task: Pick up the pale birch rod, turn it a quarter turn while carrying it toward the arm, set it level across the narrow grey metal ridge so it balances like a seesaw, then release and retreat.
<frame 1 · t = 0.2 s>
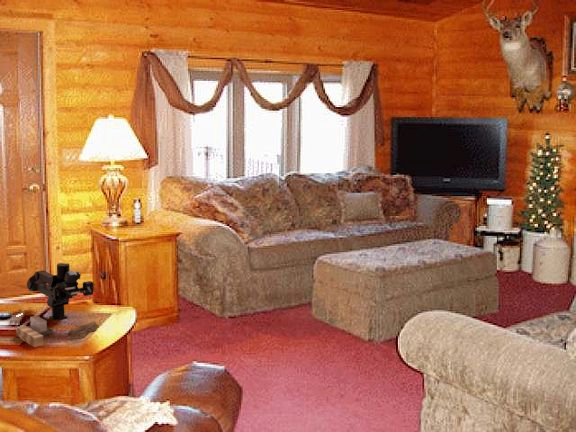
hand: (81, 295, 321), 17 cm above the table, tool horizontal, fingers open, 9 cm apart
wooden fragment: (83, 331, 324), on the table
birch rod: (30, 341, 310), on the table
balance ridge: (38, 331, 321), on the table
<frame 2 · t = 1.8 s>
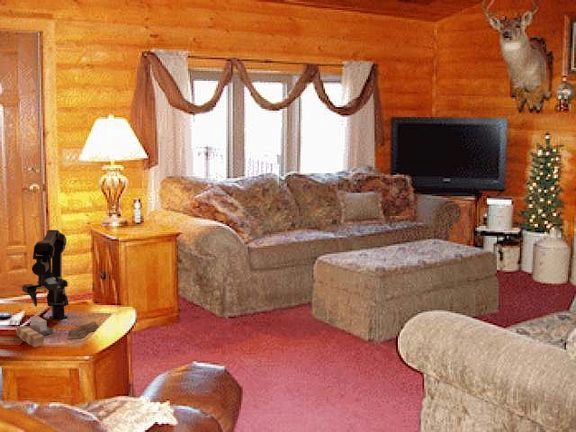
hand: (46, 304, 318), 13 cm above the table, tool pointing down, fingers open, 9 cm apart
nothing on the table moved.
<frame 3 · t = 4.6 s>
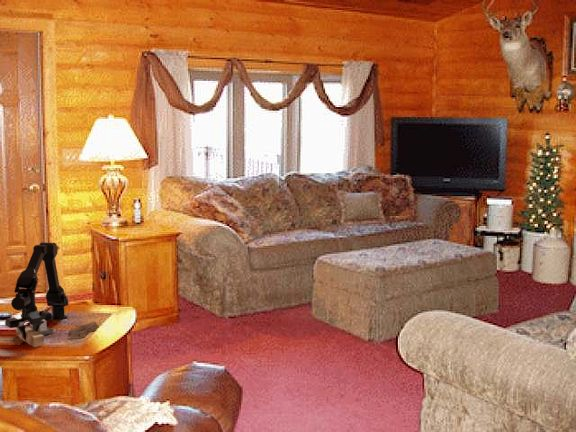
hand: (29, 338, 309), 1 cm above the table, tool pointing down, fingers closed on birch rod, 4 cm apart
birch rod: (30, 341, 310), on the table, touching gripper
everything else where it was.
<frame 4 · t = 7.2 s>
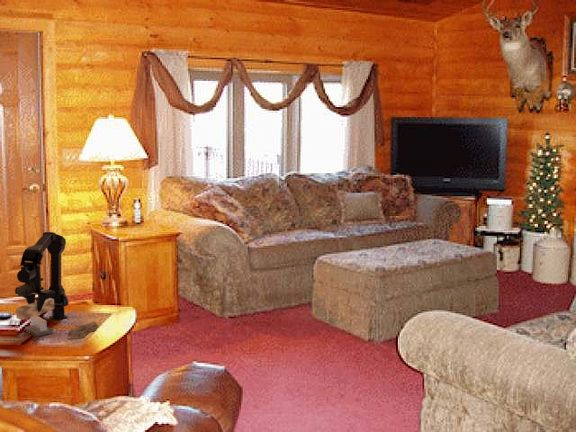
hand: (35, 310, 317), 11 cm above the table, tool pointing down, fingers closed on birch rod, 4 cm apart
birch rod: (35, 313, 317), point 9 cm above the table, touching gripper
everything else where it was.
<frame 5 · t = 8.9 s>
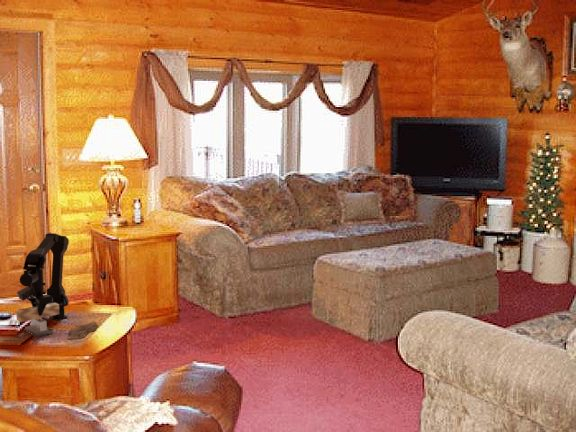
hand: (38, 314, 320), 8 cm above the table, tool pointing down, fingers closed on birch rod, 4 cm apart
birch rod: (38, 316, 320), point 7 cm above the table, touching gripper
everything else where it was.
when the fingers open (8 cm above the table, at t = 10.0 s): birch rod stays where it is, resting on balance ridge.
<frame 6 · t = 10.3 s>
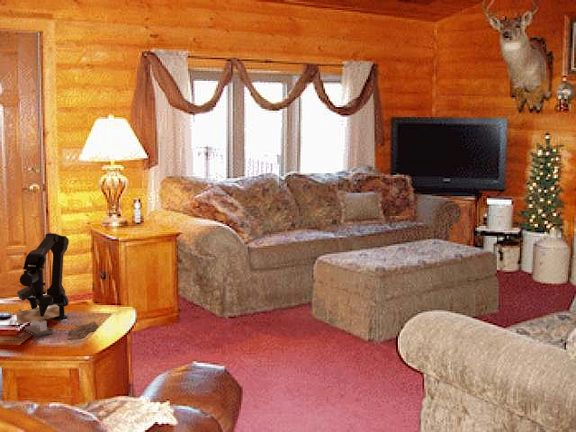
hand: (38, 314, 320), 8 cm above the table, tool pointing down, fingers open, 8 cm apart
birch rod: (38, 318, 320), point 6 cm above the table, touching balance ridge
everything else where it was.
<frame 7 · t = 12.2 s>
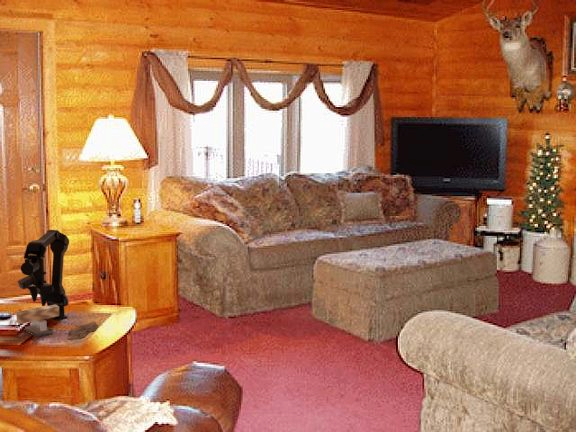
hand: (38, 303, 320), 13 cm above the table, tool pointing down, fingers open, 9 cm apart
nothing on the table moved.
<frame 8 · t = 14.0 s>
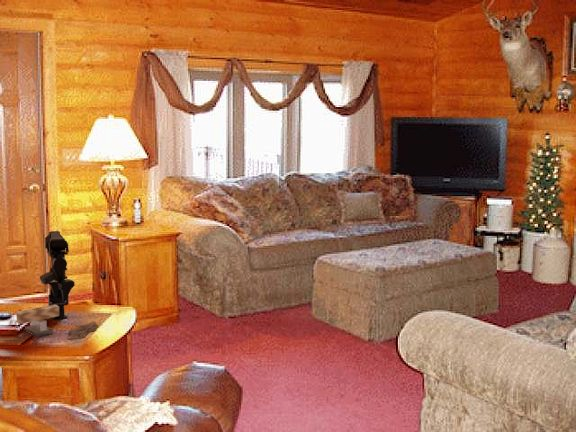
hand: (59, 298, 327), 13 cm above the table, tool pointing down, fingers open, 9 cm apart
nothing on the table moved.
at the end: birch rod 0.1 cm off-centre on the balance ridge, point 6.0 cm above the balance ridge's base; birch rod tilted 0°; birch rod touching balance ridge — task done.
